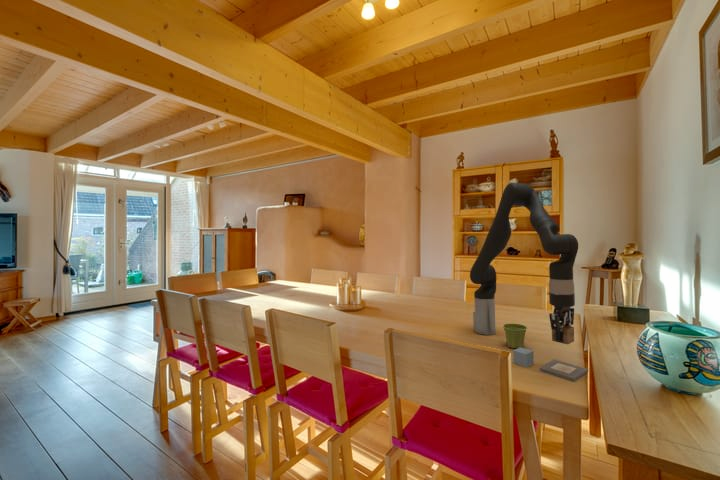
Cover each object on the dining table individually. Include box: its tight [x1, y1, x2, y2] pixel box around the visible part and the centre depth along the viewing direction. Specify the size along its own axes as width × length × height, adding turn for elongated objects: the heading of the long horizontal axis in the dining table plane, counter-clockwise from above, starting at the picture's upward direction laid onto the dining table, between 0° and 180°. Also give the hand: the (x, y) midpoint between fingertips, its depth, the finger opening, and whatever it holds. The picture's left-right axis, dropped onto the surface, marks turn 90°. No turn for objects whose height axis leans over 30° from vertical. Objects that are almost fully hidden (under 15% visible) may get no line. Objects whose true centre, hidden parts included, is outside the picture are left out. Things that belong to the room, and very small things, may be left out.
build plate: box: [539, 359, 589, 382], centre depth 112 cm, size 11×11×1 cm
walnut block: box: [551, 325, 575, 345], centre depth 112 cm, size 5×5×5 cm
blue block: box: [512, 347, 535, 369], centre depth 120 cm, size 5×5×5 cm
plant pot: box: [502, 323, 528, 349], centre depth 137 cm, size 9×9×9 cm
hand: (562, 339), depth 112 cm, fingers closed on walnut block, 5 cm apart
